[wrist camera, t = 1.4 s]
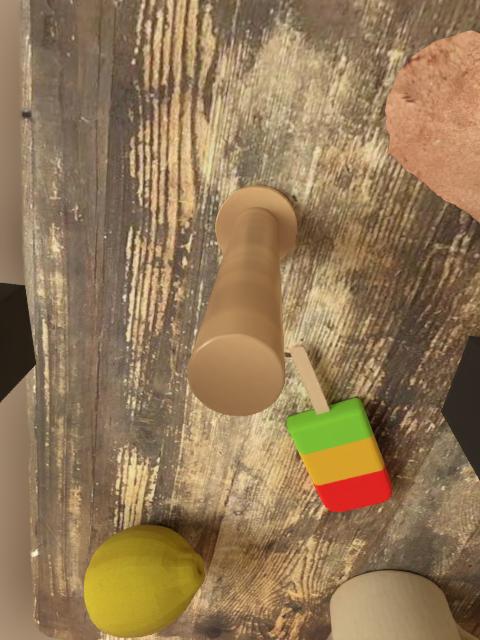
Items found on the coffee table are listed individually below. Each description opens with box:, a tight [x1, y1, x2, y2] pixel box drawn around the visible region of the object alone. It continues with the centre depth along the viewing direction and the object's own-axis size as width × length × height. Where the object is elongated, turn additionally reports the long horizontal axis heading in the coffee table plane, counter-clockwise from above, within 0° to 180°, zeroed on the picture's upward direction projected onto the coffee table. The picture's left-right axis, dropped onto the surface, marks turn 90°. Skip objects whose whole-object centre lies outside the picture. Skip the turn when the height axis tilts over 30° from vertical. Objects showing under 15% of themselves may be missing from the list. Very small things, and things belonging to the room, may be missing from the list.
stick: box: [187, 185, 298, 416], centre depth 18 cm, size 5×5×16 cm
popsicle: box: [287, 345, 392, 512], centre depth 31 cm, size 6×15×2 cm, turn 23°
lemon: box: [84, 525, 205, 638], centre depth 35 cm, size 11×8×8 cm
